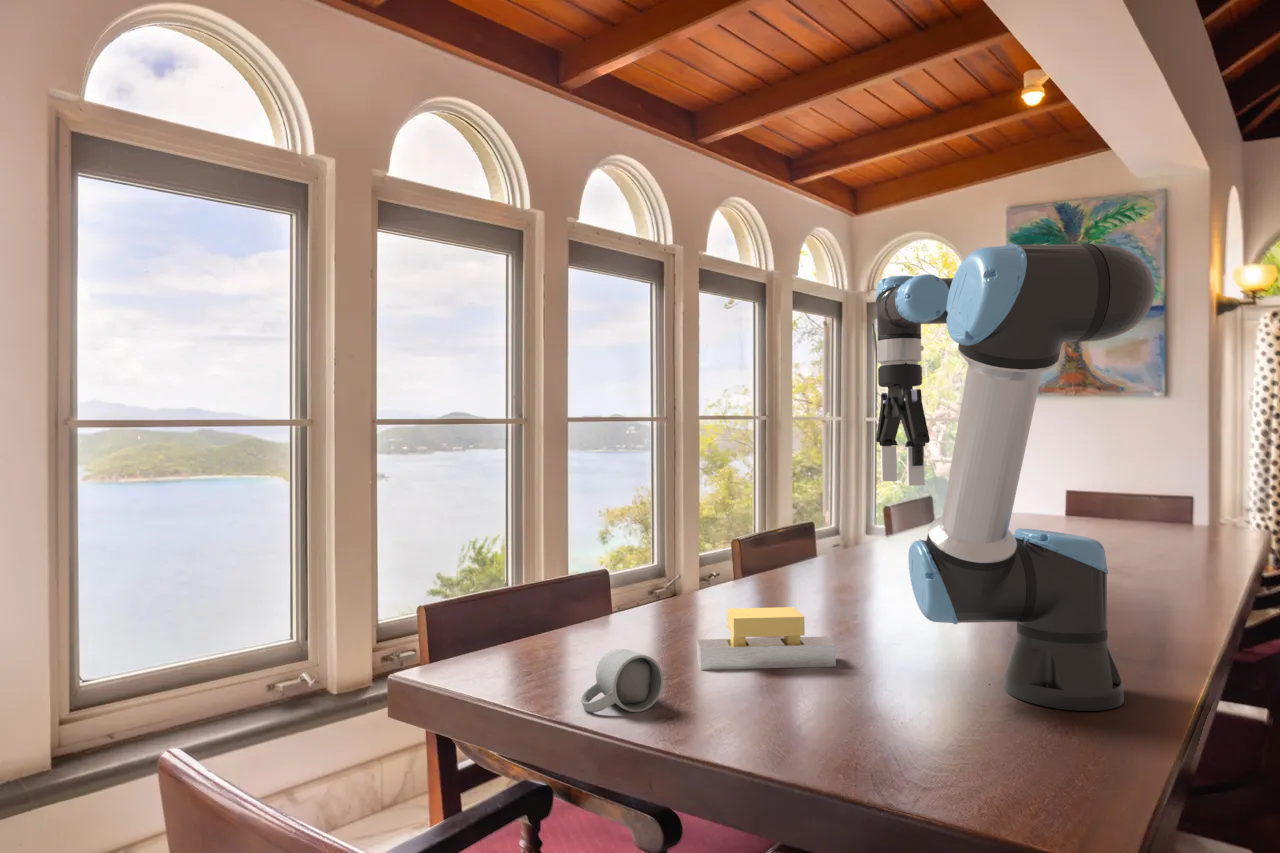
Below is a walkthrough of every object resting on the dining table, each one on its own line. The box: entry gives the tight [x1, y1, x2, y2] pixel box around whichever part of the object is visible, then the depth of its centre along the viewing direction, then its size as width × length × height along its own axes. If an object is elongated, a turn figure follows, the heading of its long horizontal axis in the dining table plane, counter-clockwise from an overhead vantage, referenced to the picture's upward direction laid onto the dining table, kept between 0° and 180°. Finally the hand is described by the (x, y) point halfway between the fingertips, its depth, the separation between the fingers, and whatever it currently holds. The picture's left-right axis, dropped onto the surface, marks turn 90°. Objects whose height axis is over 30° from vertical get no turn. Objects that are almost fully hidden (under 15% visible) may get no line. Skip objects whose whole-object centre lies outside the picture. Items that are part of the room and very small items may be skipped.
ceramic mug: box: [580, 648, 664, 714], centre depth 117 cm, size 11×8×8 cm
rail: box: [696, 636, 837, 671], centre depth 137 cm, size 6×22×4 cm, turn 92°
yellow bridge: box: [726, 606, 805, 646], centre depth 137 cm, size 8×11×8 cm, turn 92°
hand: (901, 483), depth 148 cm, fingers open, 13 cm apart
